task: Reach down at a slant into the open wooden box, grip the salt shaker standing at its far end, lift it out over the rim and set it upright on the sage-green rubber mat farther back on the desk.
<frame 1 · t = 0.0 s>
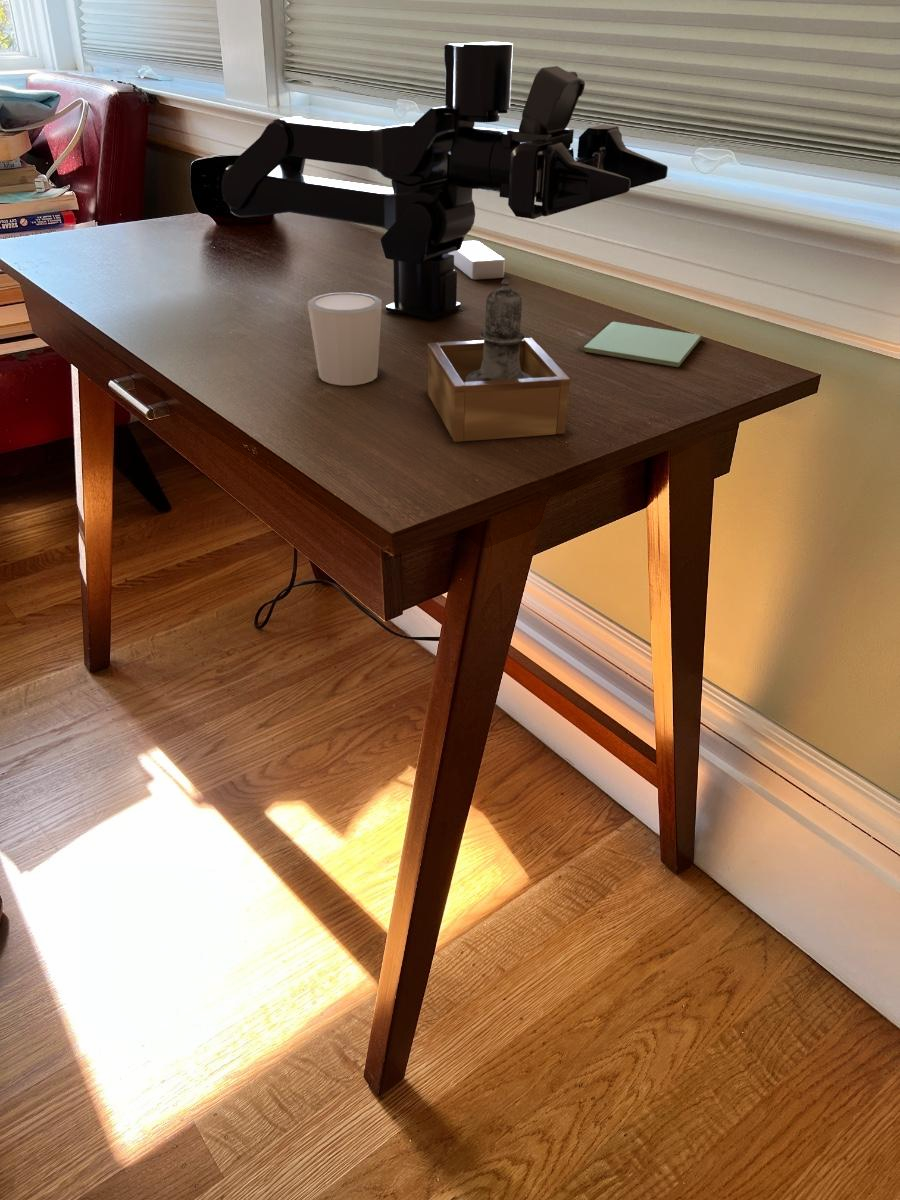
hand: (648, 178, 85), 17 cm above the table, tool horizontal, fingers open, 9 cm apart
mat: (643, 345, 96), on the table
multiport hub: (475, 269, 122), on the table
open wooden box: (493, 413, 80), on the table
white tapered cup: (348, 376, 87), on the table
salt shaker: (497, 422, 79), resting in open wooden box
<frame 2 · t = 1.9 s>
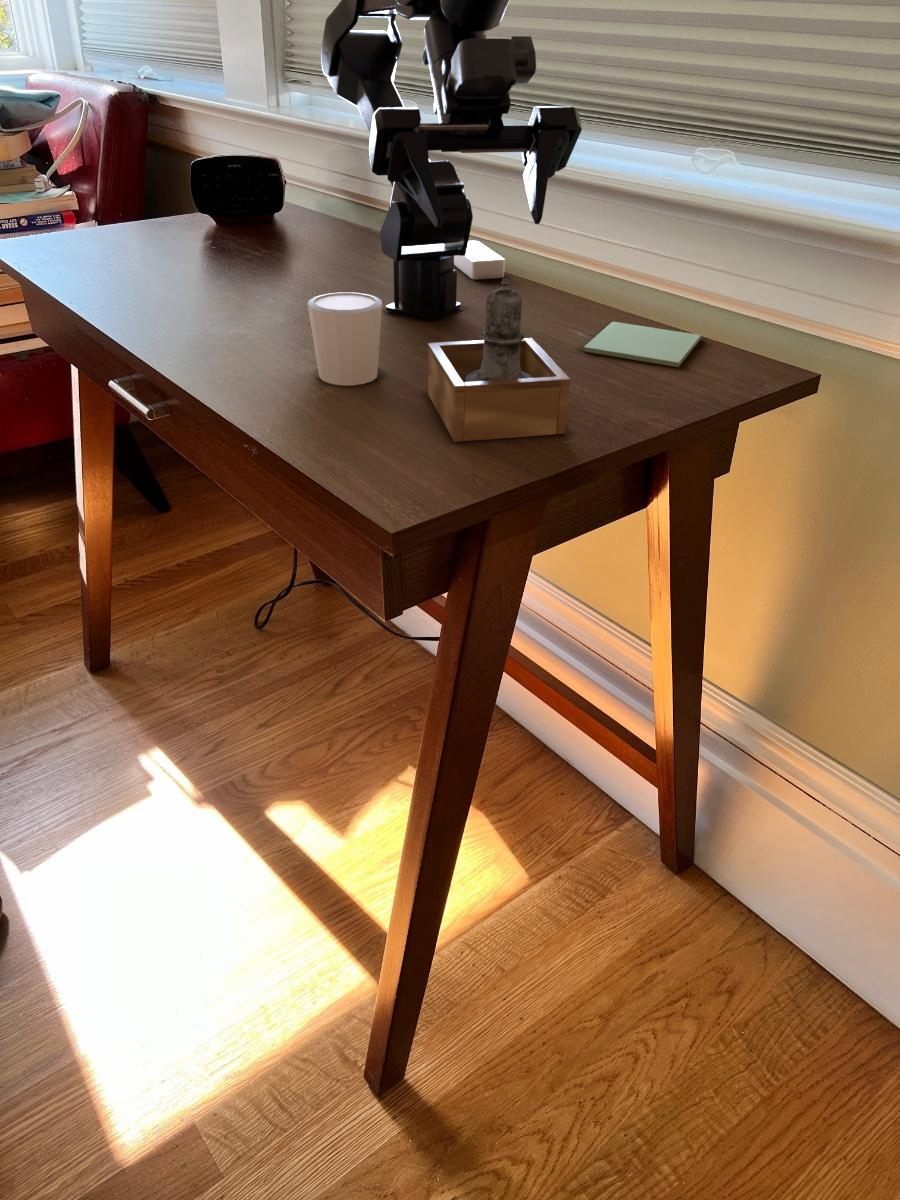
hand: (489, 222, 81), 14 cm above the table, tool tilted 45°, fingers open, 9 cm apart
nothing on the table moved.
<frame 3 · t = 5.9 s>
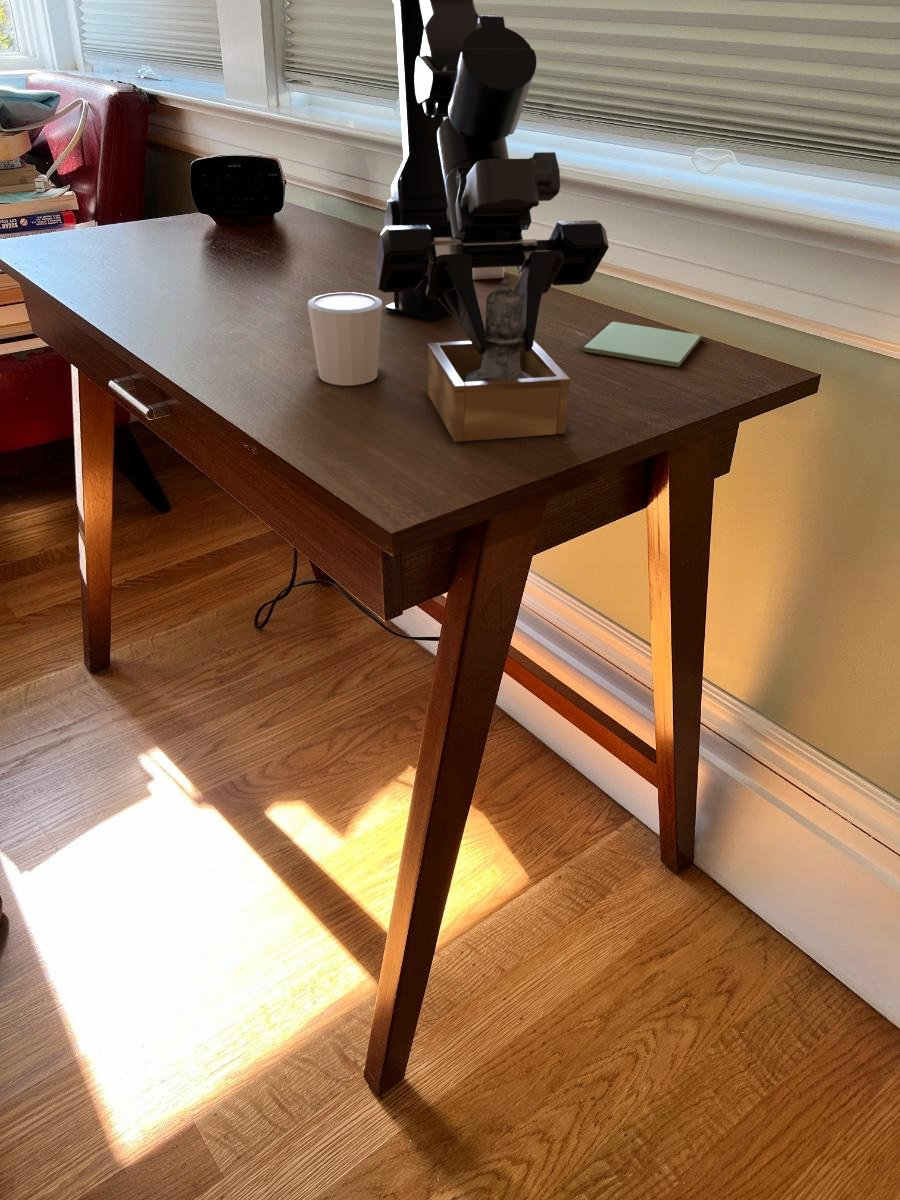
hand: (506, 350, 74), 7 cm above the table, tool tilted 45°, fingers closed on salt shaker, 3 cm apart
salt shaker: (497, 422, 79), resting in open wooden box, touching gripper
everything else where it was.
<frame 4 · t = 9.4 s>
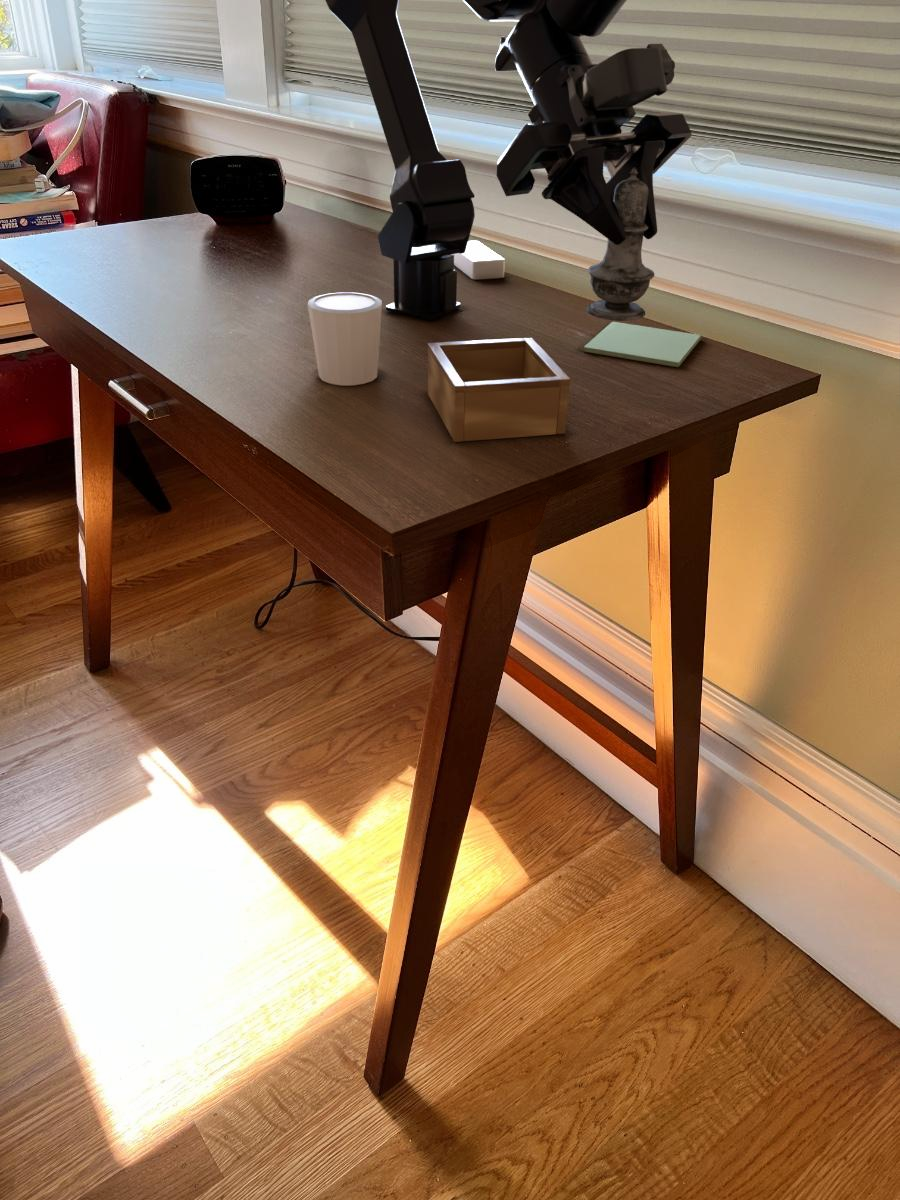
hand: (637, 239, 78), 13 cm above the table, tool tilted 45°, fingers closed on salt shaker, 3 cm apart
salt shaker: (615, 313, 82), point 7 cm above the table, touching gripper
everything else where it was.
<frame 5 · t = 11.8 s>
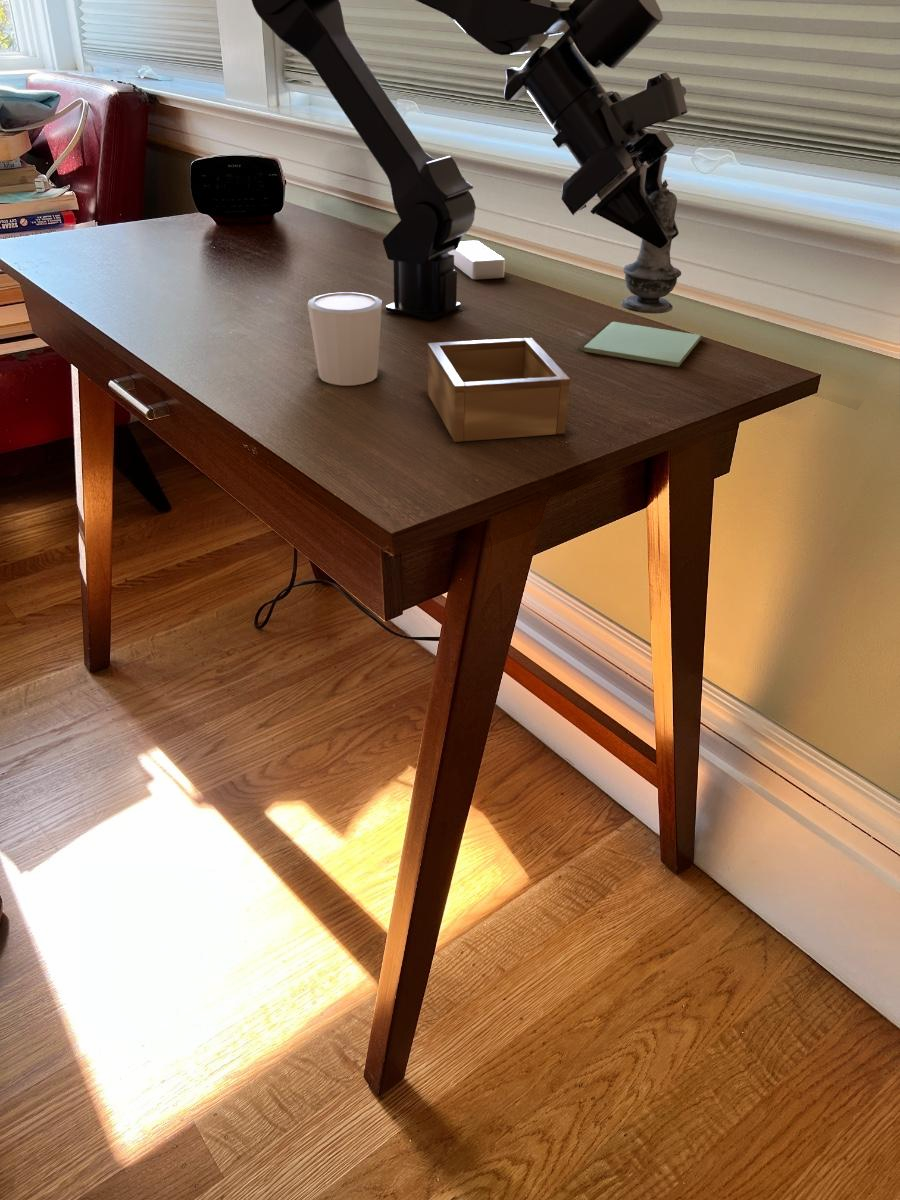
hand: (669, 241, 90), 11 cm above the table, tool tilted 45°, fingers closed on salt shaker, 3 cm apart
salt shaker: (646, 307, 94), point 4 cm above the table, touching gripper
everything else where it was.
when the fingers open (7 cm above the table, at t = 13.1 s): salt shaker stays where it is, resting on mat.
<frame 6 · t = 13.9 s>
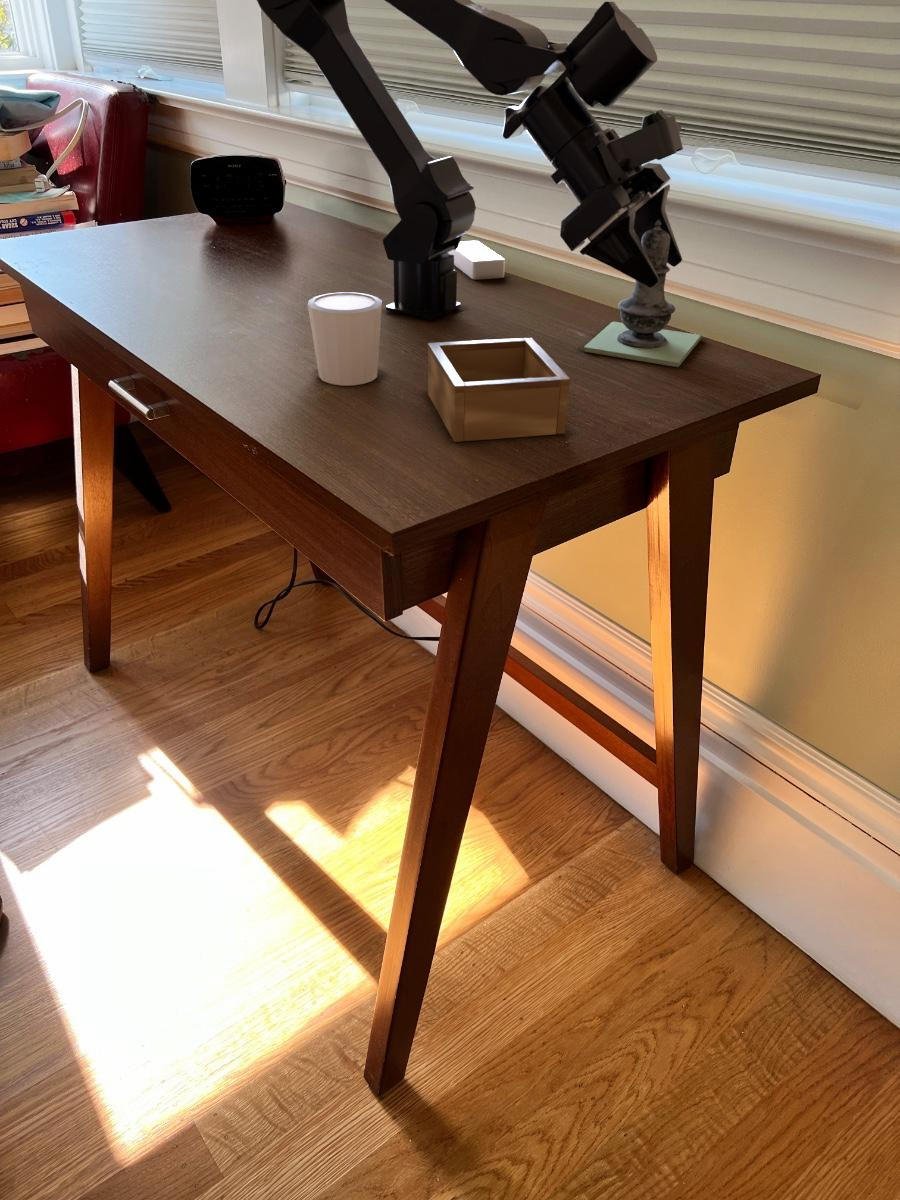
hand: (667, 273, 91), 8 cm above the table, tool tilted 45°, fingers open, 9 cm apart
salt shaker: (641, 342, 96), resting on mat
everything else where it was.
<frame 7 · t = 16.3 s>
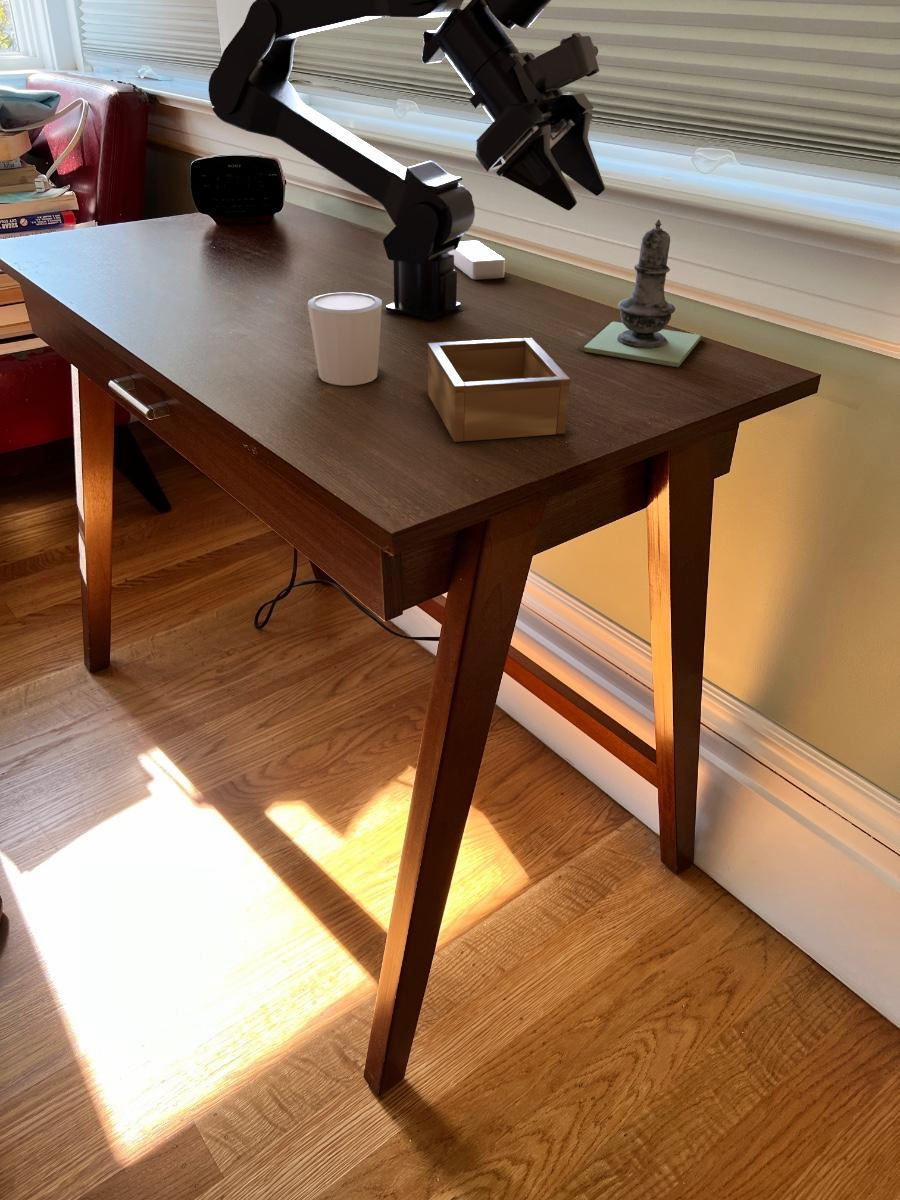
hand: (587, 199, 91), 14 cm above the table, tool tilted 45°, fingers open, 9 cm apart
nothing on the table moved.
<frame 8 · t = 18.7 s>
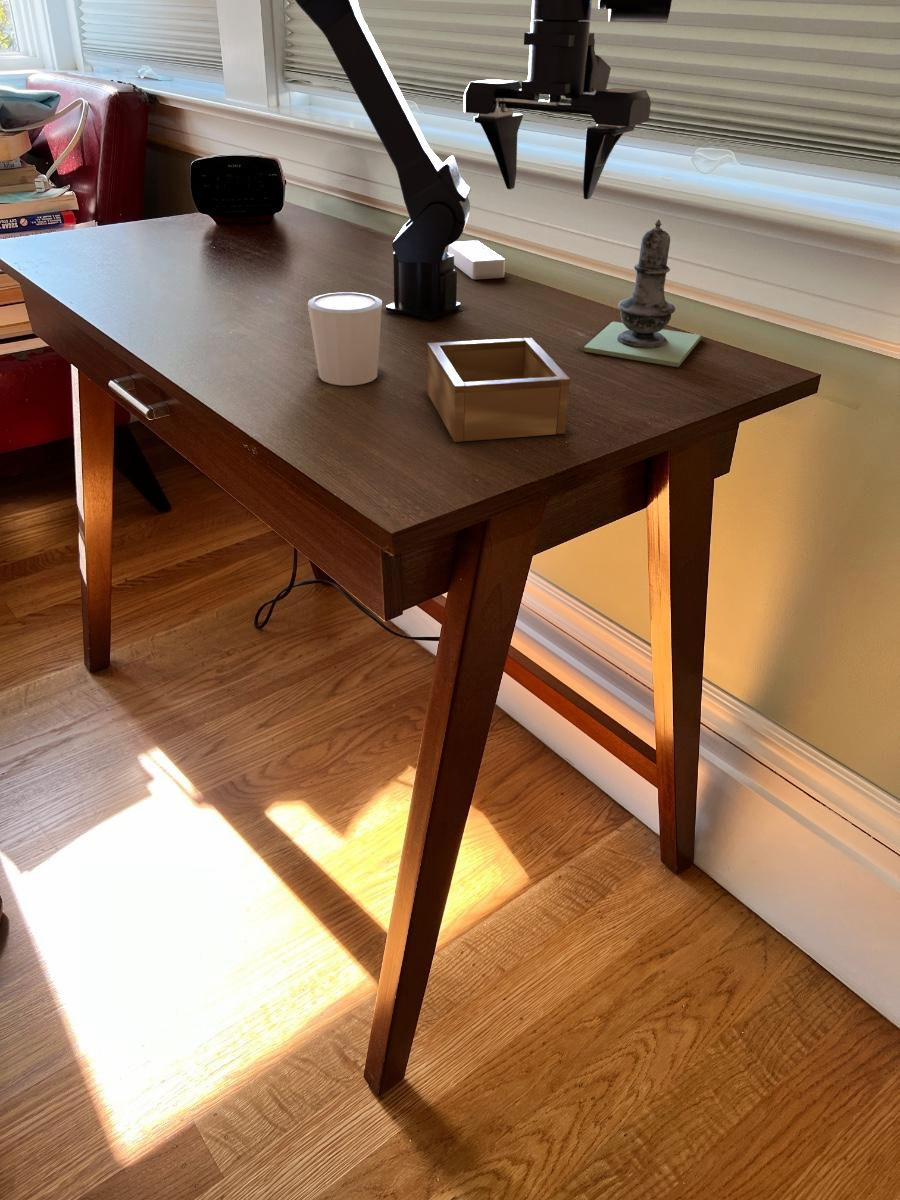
hand: (548, 193, 97), 13 cm above the table, tool pointing down, fingers open, 9 cm apart
nothing on the table moved.
at the end: salt shaker inside the target area on the mat (0.2 cm from its centre), point 0.3 cm above the mat's base; salt shaker tilted 0°; salt shaker touching mat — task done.
